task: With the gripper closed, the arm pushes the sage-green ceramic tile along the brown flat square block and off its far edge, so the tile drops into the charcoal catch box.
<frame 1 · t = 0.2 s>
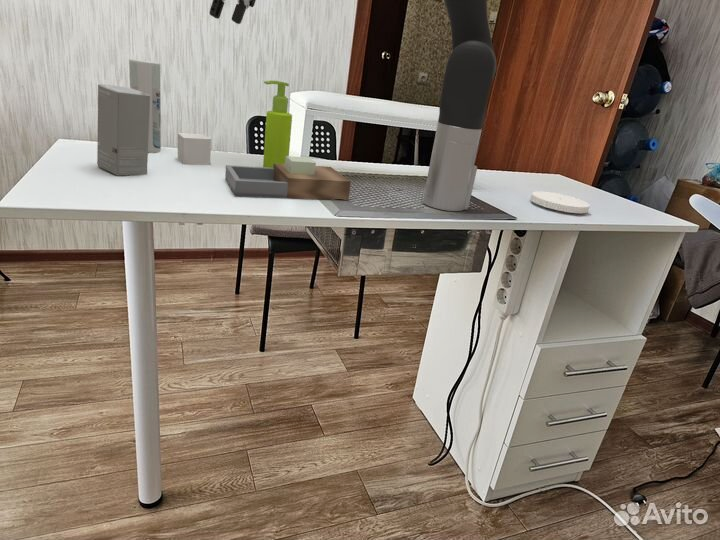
hand: (225, 19, 112), 31 cm above the table, tool tilted 20°, fingers open, 8 cm apart
catch box: (254, 188, 102), on the table
tile: (299, 171, 104), point 4 cm above the table, touching brown flat square block
brown flat square block: (309, 190, 106), on the table
white cube: (193, 163, 116), on the table
soap dispenser: (273, 169, 121), on the table
spray can: (146, 150, 121), on the table
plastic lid: (557, 209, 126), on the table
skincare box: (124, 171, 100), on the table
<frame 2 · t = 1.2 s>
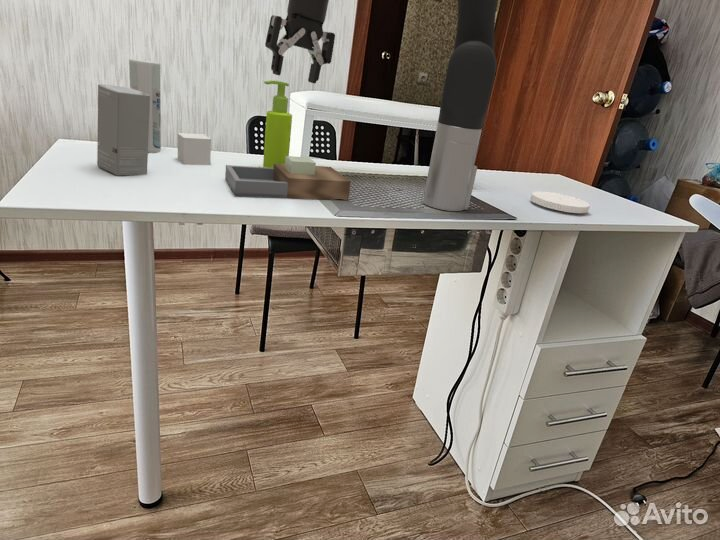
hand: (294, 78, 103), 21 cm above the table, tool pointing down, fingers open, 8 cm apart
nothing on the table moved.
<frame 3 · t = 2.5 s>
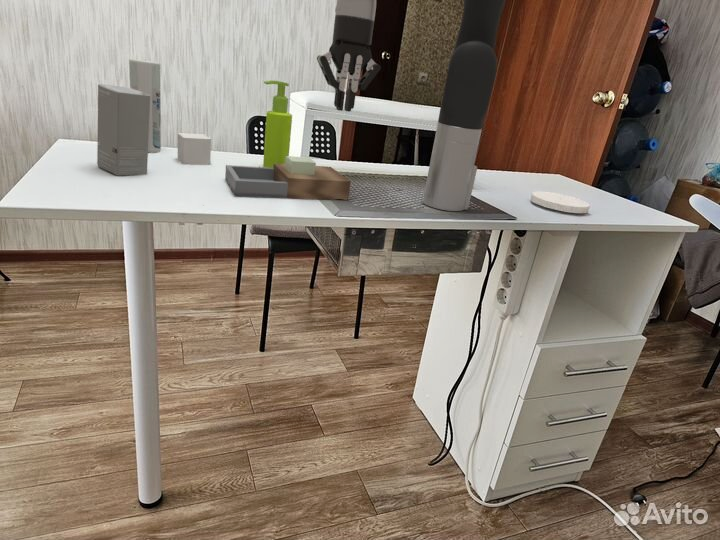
hand: (343, 110, 102), 17 cm above the table, tool pointing down, fingers closed
nothing on the table moved.
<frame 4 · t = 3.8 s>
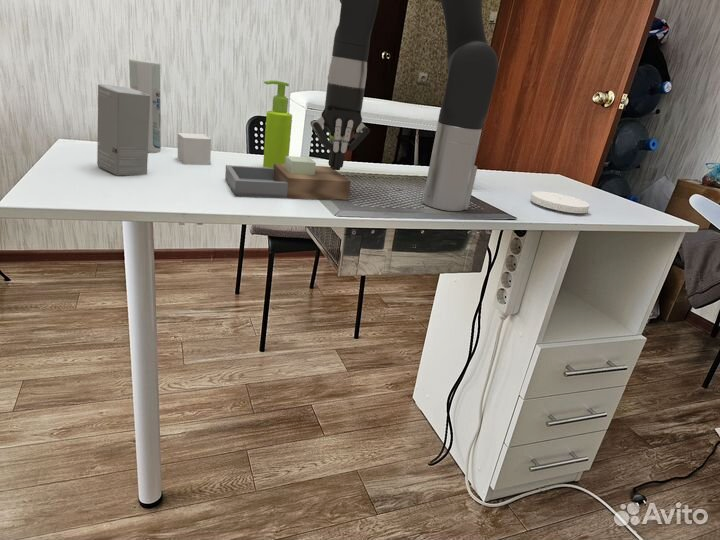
hand: (335, 169, 107), 5 cm above the table, tool pointing down, fingers closed
nothing on the table moved.
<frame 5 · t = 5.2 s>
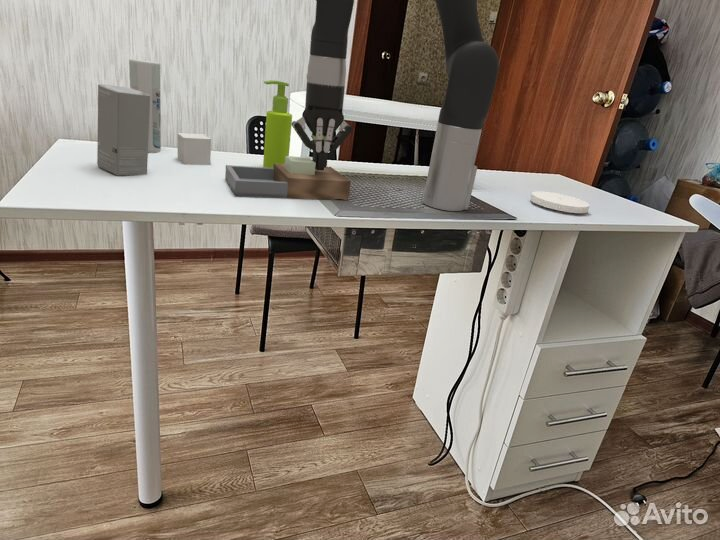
hand: (319, 169, 105), 5 cm above the table, tool pointing down, fingers closed
tile: (299, 171, 104), point 4 cm above the table, touching gripper, brown flat square block
everything else where it was.
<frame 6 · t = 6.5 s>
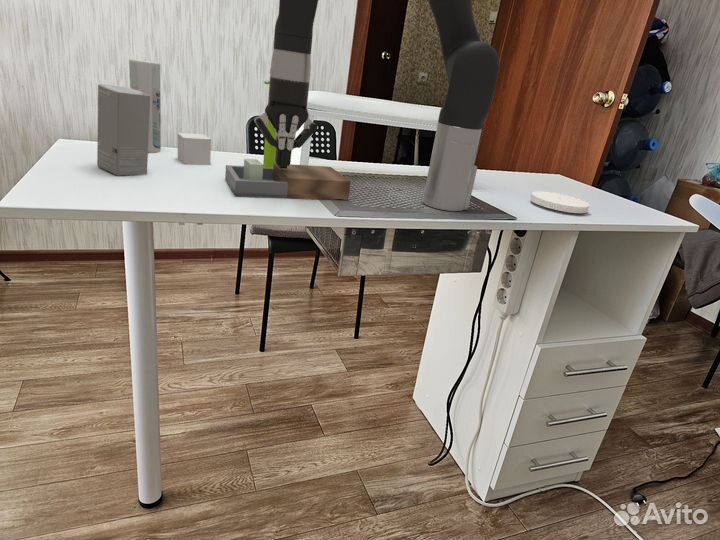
hand: (282, 167, 102), 5 cm above the table, tool pointing down, fingers closed
tile: (259, 174, 100), point 3 cm above the table, tilted 90°, touching catch box
everything else where it was.
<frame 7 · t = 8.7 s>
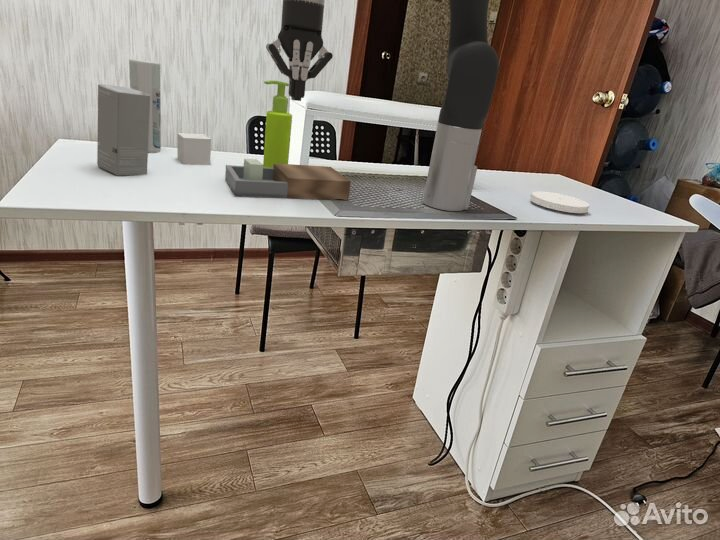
hand: (296, 100, 98), 18 cm above the table, tool pointing down, fingers closed
nothing on the table moved.
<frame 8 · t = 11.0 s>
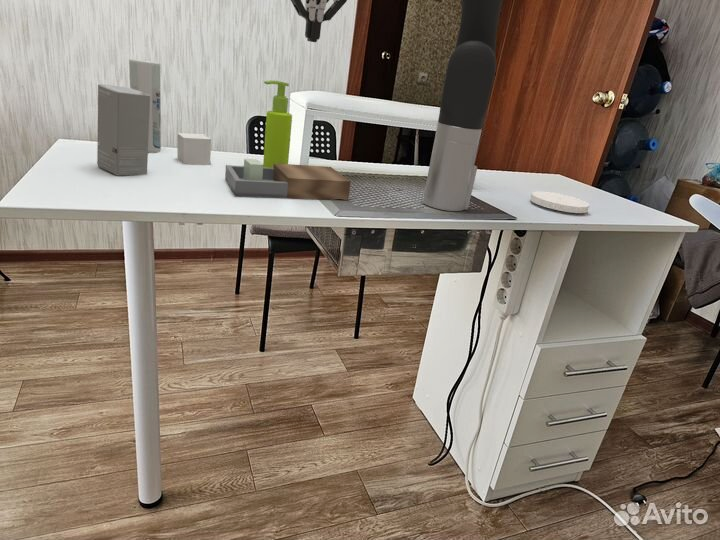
hand: (312, 41, 104), 29 cm above the table, tool pointing down, fingers closed
nothing on the table moved.
at the end: tile inside the target area (0.9 cm from its centre), point 3.1 cm above the table; tile moved 8.6 cm from its start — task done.
